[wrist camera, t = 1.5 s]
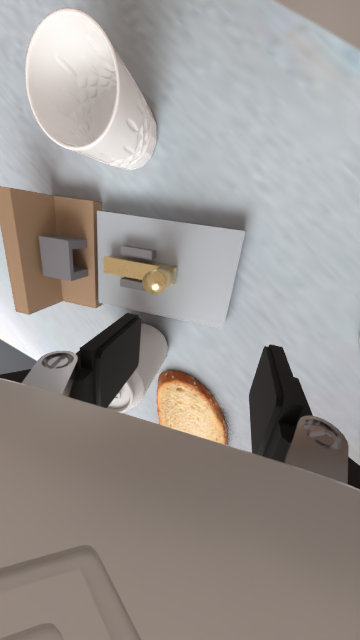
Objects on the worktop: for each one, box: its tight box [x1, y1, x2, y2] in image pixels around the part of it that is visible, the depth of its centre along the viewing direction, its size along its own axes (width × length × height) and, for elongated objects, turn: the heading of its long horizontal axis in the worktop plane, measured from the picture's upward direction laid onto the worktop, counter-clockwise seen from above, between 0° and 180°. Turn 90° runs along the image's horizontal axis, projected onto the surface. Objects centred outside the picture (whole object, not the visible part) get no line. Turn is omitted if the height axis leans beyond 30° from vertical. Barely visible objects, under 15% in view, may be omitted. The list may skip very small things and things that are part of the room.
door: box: [0, 186, 246, 329], centre depth 27 cm, size 26×14×8 cm, turn 83°
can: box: [107, 323, 168, 413], centre depth 30 cm, size 8×8×12 cm
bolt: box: [104, 255, 178, 295], centre depth 26 cm, size 9×2×6 cm, turn 83°
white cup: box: [25, 8, 157, 171], centre depth 21 cm, size 8×8×10 cm
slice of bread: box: [157, 370, 228, 445], centre depth 38 cm, size 18×18×4 cm
